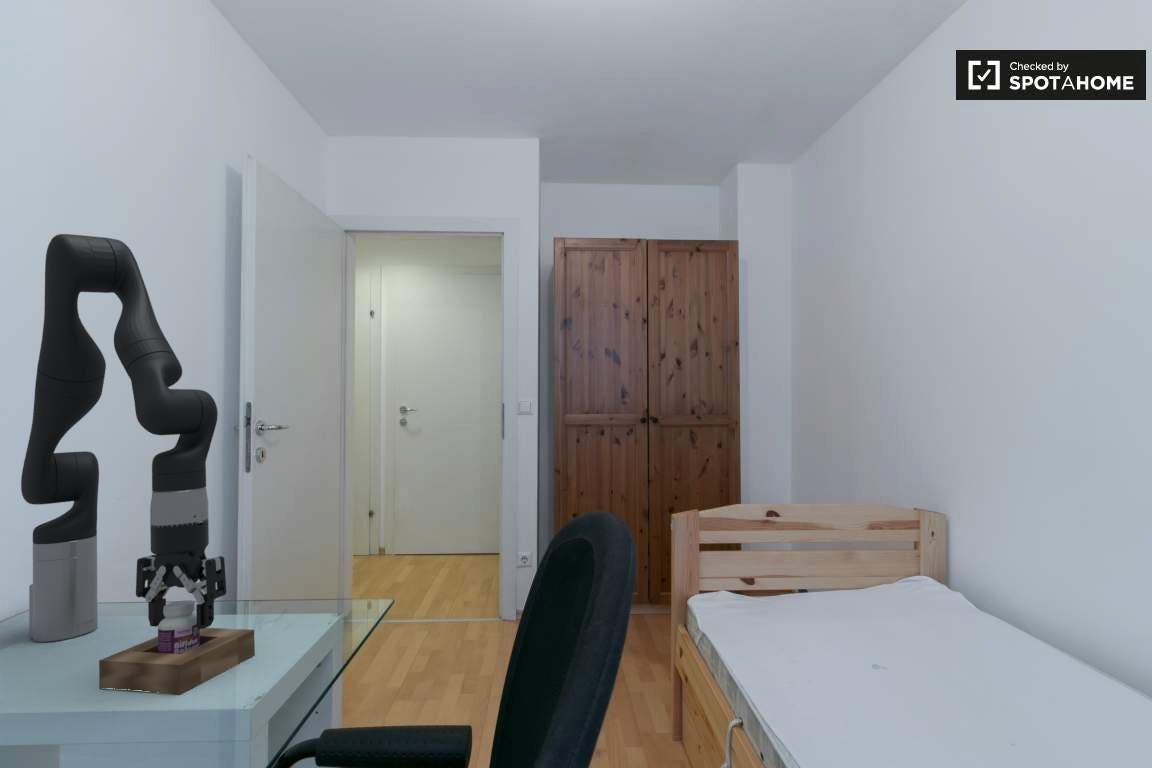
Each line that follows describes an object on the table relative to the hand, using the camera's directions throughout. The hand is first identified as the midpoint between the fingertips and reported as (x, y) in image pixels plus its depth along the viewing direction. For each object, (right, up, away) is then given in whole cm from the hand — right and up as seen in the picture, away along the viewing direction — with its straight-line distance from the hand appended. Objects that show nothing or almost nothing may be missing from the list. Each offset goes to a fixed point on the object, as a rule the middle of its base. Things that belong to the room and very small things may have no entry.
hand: (181, 626), depth 94 cm
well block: (0, -7, -1) cm, 7 cm away
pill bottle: (0, -6, -1) cm, 6 cm away
